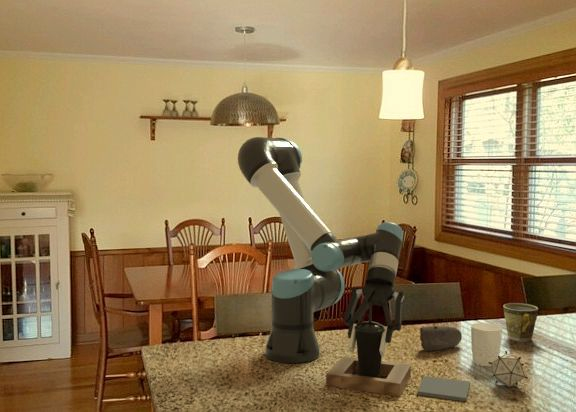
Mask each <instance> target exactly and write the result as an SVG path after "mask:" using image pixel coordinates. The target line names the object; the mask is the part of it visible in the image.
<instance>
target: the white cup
mask: <svg viewBox="0 0 576 412" xmlns="http://www.w3.org/2000/svg"><path fill="white" fill-rule="evenodd" d="M502 328H503V327H502V326H500V325H499V324H495V323H490V322H488V323H487V322H477V323H473V324H471V325H470V330H471V331H470V334H471V335H470V336H471V337H470V339H471V341H470V342H471V343H470V344H471V354H472V357H471V359H472V363H474V364H475V365H476V366H481V367H487V368H488V367H489V368H490V367H491V368H492V365H491V364H489V363H488V362H491V363H492V362H494V361H495V360H497V359H498V356H500V353H501V347H502V346H501V343H502V331H503V329H502Z"/></svg>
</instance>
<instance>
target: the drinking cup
mask: <svg viewBox="0 0 576 412" xmlns="http://www.w3.org/2000/svg"><path fill="white" fill-rule="evenodd" d="M372 307H373V305H372V301H369V309H368V321H363V322H361V323H360V322H359V323H358V324H357V325H356V326H355V327H354V328H355V330H356V351H357V353H356V354H357V358H358V367H359V372H358V375H359V376H367V377H374V378H381V377H380V376H381V375H380V368H381V361H382V360H383V359H382V357H383V356H381V354H380V351H379V350H380V345H381V339H382V334H383V332H384V331H385V329H384V327H386V326H385V325H383V324H381V323H379V322H376V321H373V318H372V317H373V316H372V315H373V314H372V313H373V312H372V311H373V308H372Z"/></svg>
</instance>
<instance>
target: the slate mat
mask: <svg viewBox="0 0 576 412" xmlns="http://www.w3.org/2000/svg"><path fill="white" fill-rule="evenodd" d="M470 386H471V381H468V380H460V379H451V378H445V377H444V378H443V377H438V376H437V377H435V376H431V375H430V376H428V375H424V376H423V379H422V380H421V383H420V385H419V387H418V389H417V391H416V392H417V393H416V395H417V396H425V397H432V398H438V399H439V398H440V399H447V400H453V401H460V402H461V401H462V402H467V398H468V396H469V392H470V391H469V390H470Z"/></svg>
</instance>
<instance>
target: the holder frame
mask: <svg viewBox="0 0 576 412" xmlns="http://www.w3.org/2000/svg"><path fill="white" fill-rule="evenodd" d="M354 372H356V373H359V367H358V357H350V356H341V357H340V358H339V360H338V361H337V362H335V363H334V365H333V366H331V368H330V369H328V371H327V372H326V373H325V386H327V387H331V386H332V387H333V388H338V387H339V388H338V389H345V388H346V389H347V390H353V391H360V392H366V391H367V392H368V393H375V394H382V395H386V396H387V395H388V396H395V397H401V395H402V393H403V392H404V390H405V388H406V386H407V384H408V382H409V381H410V379H411V377H412V376H411V375H412V364H407V363H398V362H391V361H382V360H381V368H380V376H387V377H386V378H381V377H380V378H374V377H367V376H359V374H354Z"/></svg>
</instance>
